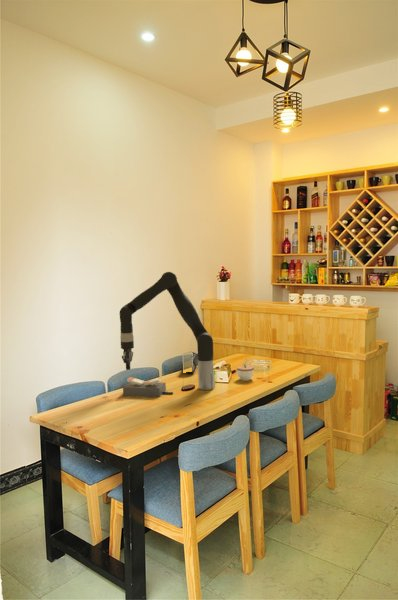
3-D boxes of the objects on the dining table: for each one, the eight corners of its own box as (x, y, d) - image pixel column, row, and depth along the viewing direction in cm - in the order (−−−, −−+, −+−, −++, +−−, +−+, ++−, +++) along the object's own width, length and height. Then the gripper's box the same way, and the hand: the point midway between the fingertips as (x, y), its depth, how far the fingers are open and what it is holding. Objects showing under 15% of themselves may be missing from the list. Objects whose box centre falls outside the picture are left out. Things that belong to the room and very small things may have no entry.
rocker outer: (143, 384, 267) (144, 380, 267) (140, 387, 262) (141, 383, 261) (129, 380, 269) (130, 376, 268) (126, 382, 263) (127, 379, 263)
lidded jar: (256, 378, 289) (256, 363, 288) (249, 382, 280) (249, 367, 279) (241, 376, 295) (241, 362, 294) (234, 380, 286) (233, 365, 285)
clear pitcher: (199, 365, 332) (199, 351, 331) (195, 375, 304) (195, 359, 304) (187, 365, 333) (186, 351, 332) (181, 375, 305) (181, 360, 305)
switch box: (175, 391, 267) (175, 382, 266) (170, 397, 255) (169, 388, 254) (130, 390, 273) (130, 381, 272) (123, 395, 261) (122, 387, 261)
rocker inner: (162, 381, 264) (161, 377, 264) (159, 383, 259) (158, 379, 259) (148, 384, 266) (147, 380, 266) (145, 387, 261) (143, 383, 261)
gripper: (129, 342, 257) (130, 372, 258) (137, 338, 270) (138, 367, 271) (116, 342, 258) (117, 372, 260) (125, 338, 271) (126, 366, 273)
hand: (128, 369), depth 265 cm, fingers closed
